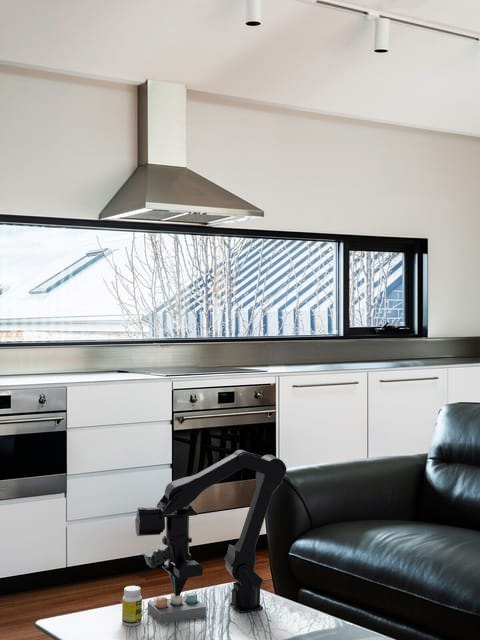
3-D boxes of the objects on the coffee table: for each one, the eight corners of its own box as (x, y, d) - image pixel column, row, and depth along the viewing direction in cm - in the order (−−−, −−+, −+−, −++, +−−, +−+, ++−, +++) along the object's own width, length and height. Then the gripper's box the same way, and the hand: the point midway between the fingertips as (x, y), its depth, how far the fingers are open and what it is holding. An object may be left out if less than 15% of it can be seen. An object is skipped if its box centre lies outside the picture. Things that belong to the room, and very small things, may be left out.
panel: (191, 604, 221) (191, 595, 221) (205, 616, 213) (205, 606, 213) (147, 611, 215) (147, 601, 215) (160, 623, 207) (160, 613, 207)
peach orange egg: (164, 612, 214) (164, 596, 214) (168, 616, 212) (169, 600, 212) (154, 614, 213) (154, 598, 213) (158, 617, 210) (158, 601, 210)
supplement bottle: (138, 627, 205) (138, 592, 205) (119, 625, 206) (119, 590, 206) (144, 619, 210) (144, 585, 210) (125, 618, 211) (126, 584, 211)
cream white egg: (179, 608, 216) (179, 592, 216) (183, 612, 213) (184, 596, 213) (169, 610, 215) (169, 594, 215) (173, 613, 212) (173, 597, 212)
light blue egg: (194, 607, 218) (194, 592, 218) (198, 611, 215) (198, 595, 215) (184, 609, 216) (184, 593, 216) (188, 613, 214) (188, 597, 214)
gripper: (134, 527, 218) (134, 588, 219) (160, 546, 202) (159, 612, 202) (175, 523, 223) (174, 582, 224) (203, 541, 207) (203, 605, 207)
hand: (177, 595), depth 214 cm, fingers closed, pressing on cream white egg
